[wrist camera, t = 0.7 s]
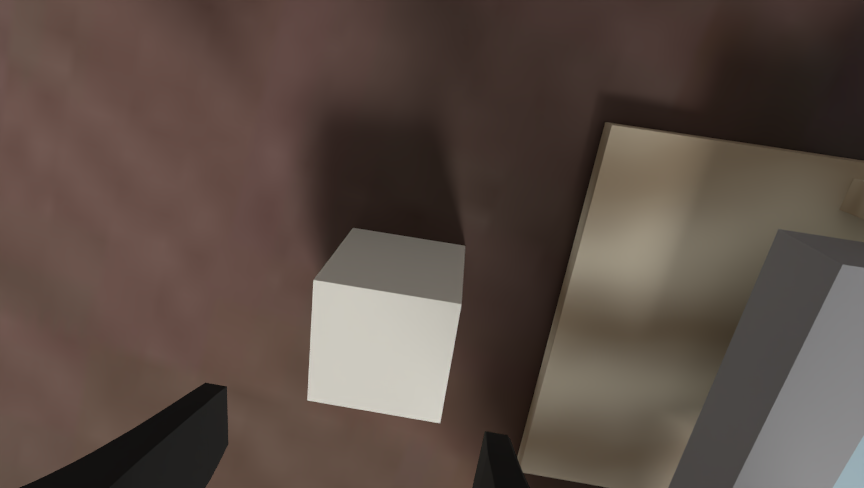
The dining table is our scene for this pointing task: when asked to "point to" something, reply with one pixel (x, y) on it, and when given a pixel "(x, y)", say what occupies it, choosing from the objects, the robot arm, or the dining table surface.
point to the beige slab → (665, 292)
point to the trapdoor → (789, 377)
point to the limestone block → (386, 324)
